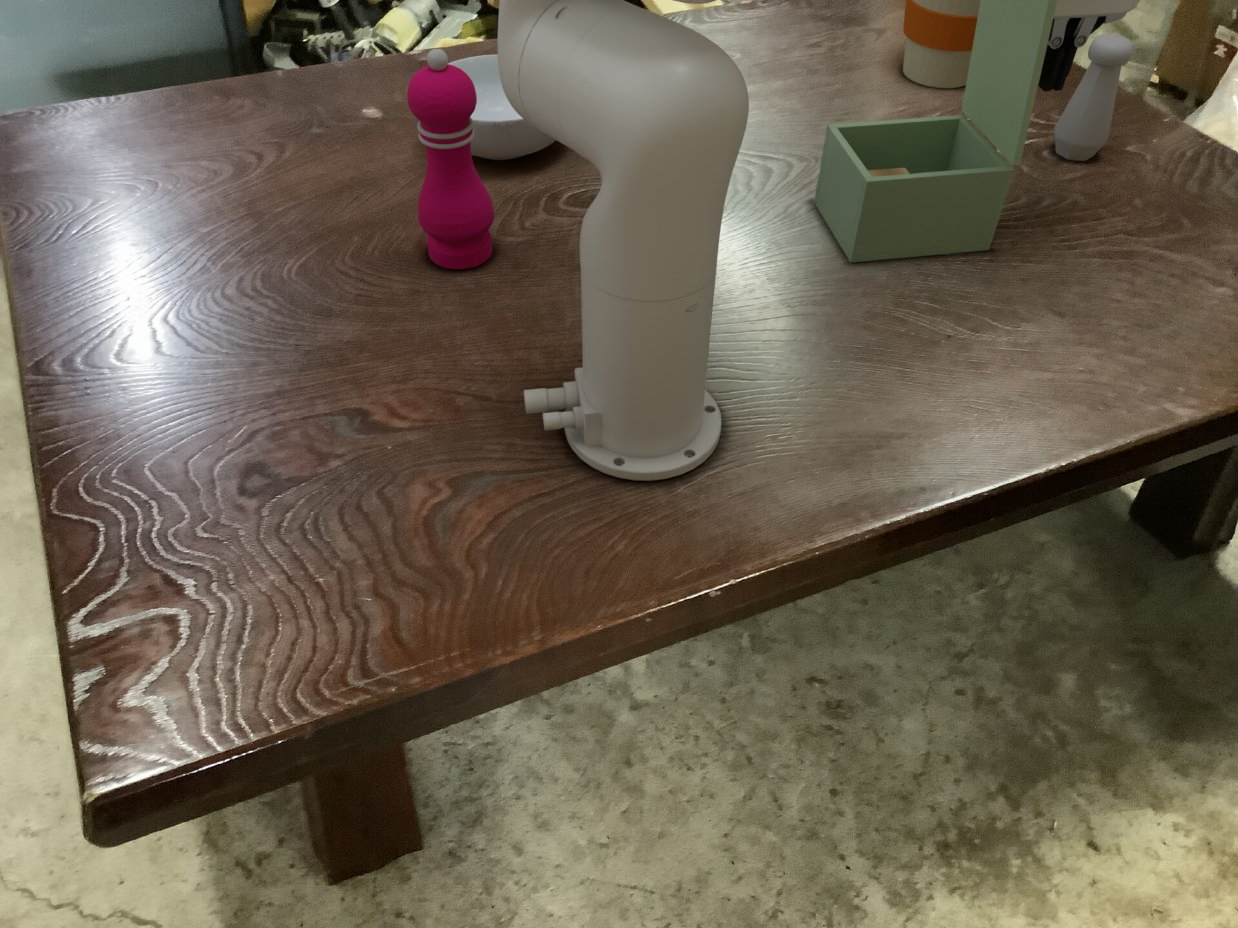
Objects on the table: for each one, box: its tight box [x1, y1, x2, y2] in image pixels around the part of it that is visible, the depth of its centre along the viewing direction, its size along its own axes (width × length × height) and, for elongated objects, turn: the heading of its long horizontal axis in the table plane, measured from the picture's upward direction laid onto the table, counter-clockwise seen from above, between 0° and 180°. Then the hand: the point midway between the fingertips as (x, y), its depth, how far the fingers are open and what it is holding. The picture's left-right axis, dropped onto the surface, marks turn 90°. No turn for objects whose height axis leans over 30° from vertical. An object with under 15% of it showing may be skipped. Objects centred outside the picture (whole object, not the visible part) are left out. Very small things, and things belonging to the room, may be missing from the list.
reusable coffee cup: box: [902, 0, 981, 89], centre depth 123 cm, size 13×13×15 cm
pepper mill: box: [406, 48, 495, 270], centre depth 90 cm, size 7×7×20 cm
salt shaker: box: [1053, 33, 1134, 162], centre depth 108 cm, size 6×6×13 cm
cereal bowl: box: [448, 53, 557, 161], centre depth 111 cm, size 17×17×7 cm
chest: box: [813, 114, 1016, 263], centre depth 98 cm, size 15×12×9 cm
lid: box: [961, 0, 1057, 166], centre depth 90 cm, size 16×12×1 cm
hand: (1045, 84), depth 93 cm, fingers closed
